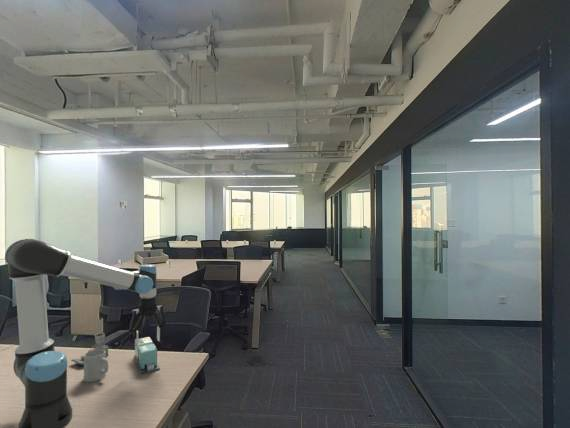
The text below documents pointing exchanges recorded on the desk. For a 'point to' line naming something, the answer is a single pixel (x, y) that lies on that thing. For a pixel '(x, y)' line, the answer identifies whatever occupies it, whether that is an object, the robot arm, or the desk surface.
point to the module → (147, 355)
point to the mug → (95, 365)
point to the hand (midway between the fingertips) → (147, 342)
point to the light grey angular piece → (141, 342)
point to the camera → (99, 345)
